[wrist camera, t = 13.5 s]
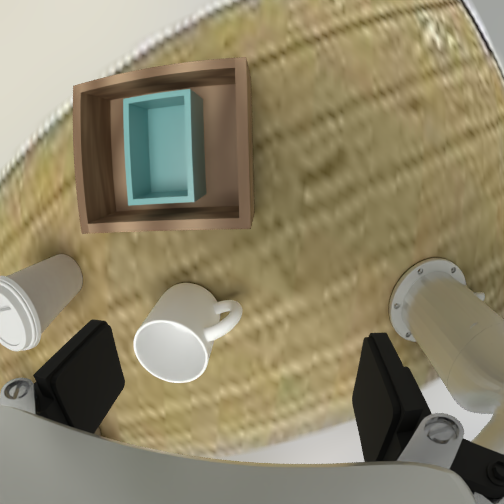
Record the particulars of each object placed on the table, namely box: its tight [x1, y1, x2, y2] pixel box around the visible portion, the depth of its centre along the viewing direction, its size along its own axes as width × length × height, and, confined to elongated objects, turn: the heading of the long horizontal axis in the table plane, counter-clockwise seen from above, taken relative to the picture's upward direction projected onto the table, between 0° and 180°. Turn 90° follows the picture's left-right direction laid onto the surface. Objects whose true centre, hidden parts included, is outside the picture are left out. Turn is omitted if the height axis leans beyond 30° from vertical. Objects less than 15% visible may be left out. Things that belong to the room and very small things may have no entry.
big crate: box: [73, 57, 254, 234], centre depth 31 cm, size 18×16×8 cm
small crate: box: [123, 89, 206, 206], centre depth 31 cm, size 7×11×6 cm, turn 2°
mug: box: [134, 283, 242, 383], centre depth 36 cm, size 12×8×10 cm
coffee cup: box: [0, 254, 83, 351], centre depth 34 cm, size 10×10×15 cm
